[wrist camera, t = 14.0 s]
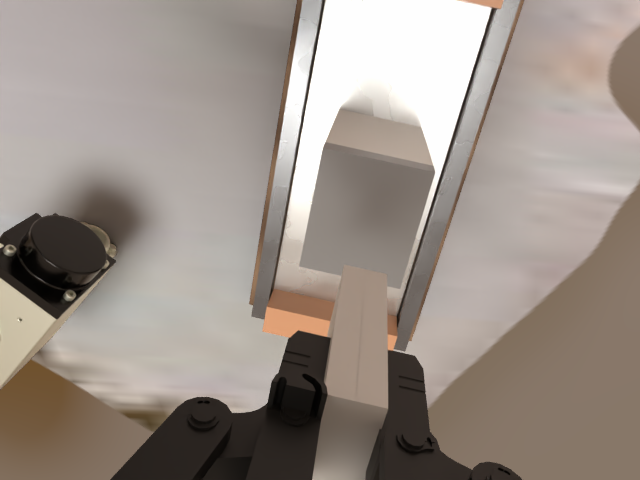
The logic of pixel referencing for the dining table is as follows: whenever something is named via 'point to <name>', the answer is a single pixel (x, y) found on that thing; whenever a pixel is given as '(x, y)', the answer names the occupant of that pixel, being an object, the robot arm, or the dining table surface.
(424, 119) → the rail board
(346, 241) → the din module
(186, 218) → the dining table surface
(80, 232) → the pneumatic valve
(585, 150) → the dining table surface
